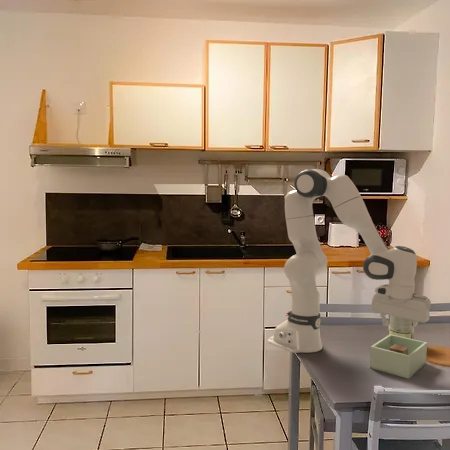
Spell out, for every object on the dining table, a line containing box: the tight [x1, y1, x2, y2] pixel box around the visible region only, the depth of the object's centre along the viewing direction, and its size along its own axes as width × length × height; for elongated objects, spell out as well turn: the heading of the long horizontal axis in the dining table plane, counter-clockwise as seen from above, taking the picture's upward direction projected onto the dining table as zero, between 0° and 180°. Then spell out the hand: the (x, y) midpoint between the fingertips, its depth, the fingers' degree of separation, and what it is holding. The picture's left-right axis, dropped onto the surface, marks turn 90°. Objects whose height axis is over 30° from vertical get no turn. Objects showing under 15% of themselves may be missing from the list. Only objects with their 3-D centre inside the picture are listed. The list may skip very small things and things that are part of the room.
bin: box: [369, 334, 428, 380], centre depth 174 cm, size 14×18×8 cm
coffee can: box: [387, 315, 415, 340], centre depth 197 cm, size 10×10×14 cm
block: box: [389, 344, 408, 355], centre depth 174 cm, size 5×5×6 cm
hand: (398, 328), depth 173 cm, fingers open, 8 cm apart
